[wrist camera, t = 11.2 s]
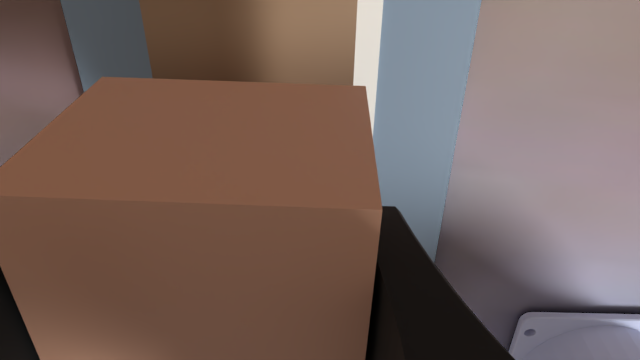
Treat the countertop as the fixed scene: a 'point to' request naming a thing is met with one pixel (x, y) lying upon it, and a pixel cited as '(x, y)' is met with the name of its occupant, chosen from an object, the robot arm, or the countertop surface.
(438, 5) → the plan board
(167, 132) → the terracotta block
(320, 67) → the walnut brick
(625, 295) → the countertop surface
